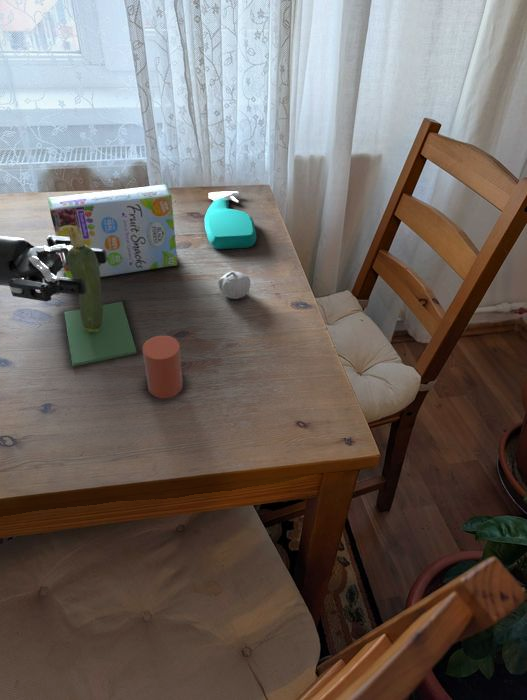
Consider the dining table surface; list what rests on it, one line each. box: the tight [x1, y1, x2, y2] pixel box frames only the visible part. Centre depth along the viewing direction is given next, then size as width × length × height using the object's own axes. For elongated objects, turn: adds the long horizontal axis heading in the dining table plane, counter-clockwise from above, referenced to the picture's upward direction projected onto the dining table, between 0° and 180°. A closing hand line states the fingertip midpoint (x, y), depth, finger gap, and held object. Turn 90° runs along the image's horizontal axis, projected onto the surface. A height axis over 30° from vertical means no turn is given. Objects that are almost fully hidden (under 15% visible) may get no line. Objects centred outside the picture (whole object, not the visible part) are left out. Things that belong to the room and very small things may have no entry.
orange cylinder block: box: [141, 334, 184, 399], centre depth 77 cm, size 5×5×8 cm
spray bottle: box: [204, 190, 257, 250], centre depth 118 cm, size 3×11×24 cm
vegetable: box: [67, 226, 104, 333], centre depth 81 cm, size 4×4×20 cm
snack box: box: [47, 184, 178, 279], centre depth 98 cm, size 21×6×15 cm, turn 110°
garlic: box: [217, 270, 252, 300], centre depth 96 cm, size 6×5×5 cm
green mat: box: [63, 301, 138, 367], centre depth 88 cm, size 14×10×1 cm
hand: (95, 271), depth 80 cm, fingers open, 8 cm apart
